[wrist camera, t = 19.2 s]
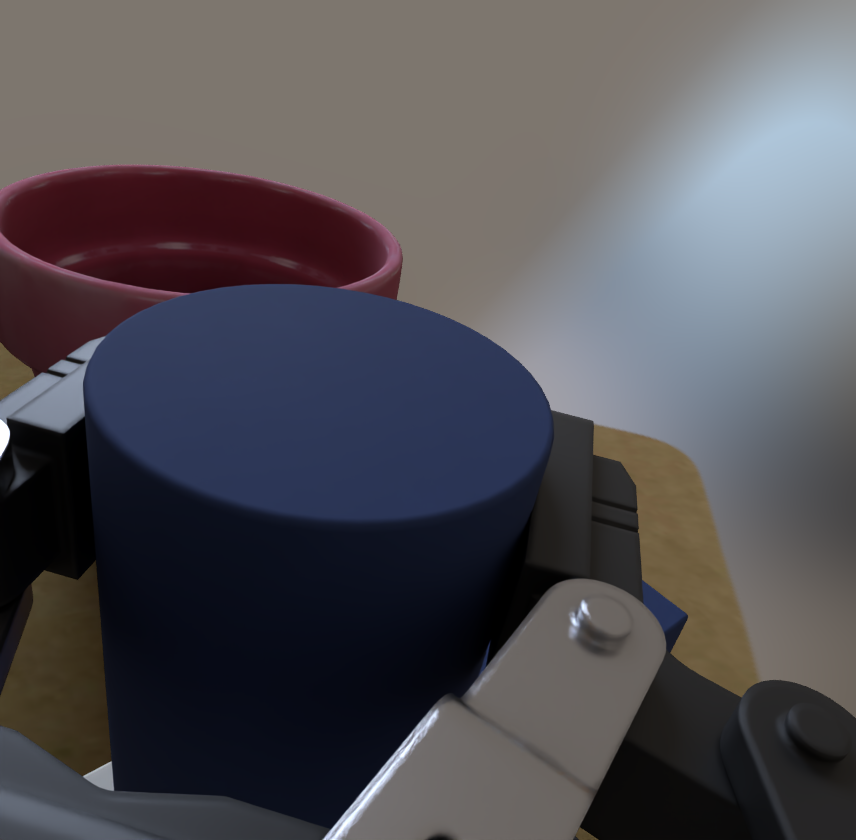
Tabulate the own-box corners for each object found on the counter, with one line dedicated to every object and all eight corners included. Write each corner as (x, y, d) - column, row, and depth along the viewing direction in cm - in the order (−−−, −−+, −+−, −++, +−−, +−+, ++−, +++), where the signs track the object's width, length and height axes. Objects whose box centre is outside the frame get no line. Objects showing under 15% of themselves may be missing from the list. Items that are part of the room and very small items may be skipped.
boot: (184, 1152, 11) (193, 636, 5) (55, 854, 14) (-32, 318, 8) (643, 735, 18) (854, 339, 13) (495, 601, 21) (612, 232, 16)
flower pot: (253, 388, 42) (268, 154, 35) (423, 531, 34) (484, 267, 27) (-32, 463, 32) (-87, 164, 25) (112, 685, 24) (88, 340, 18)
